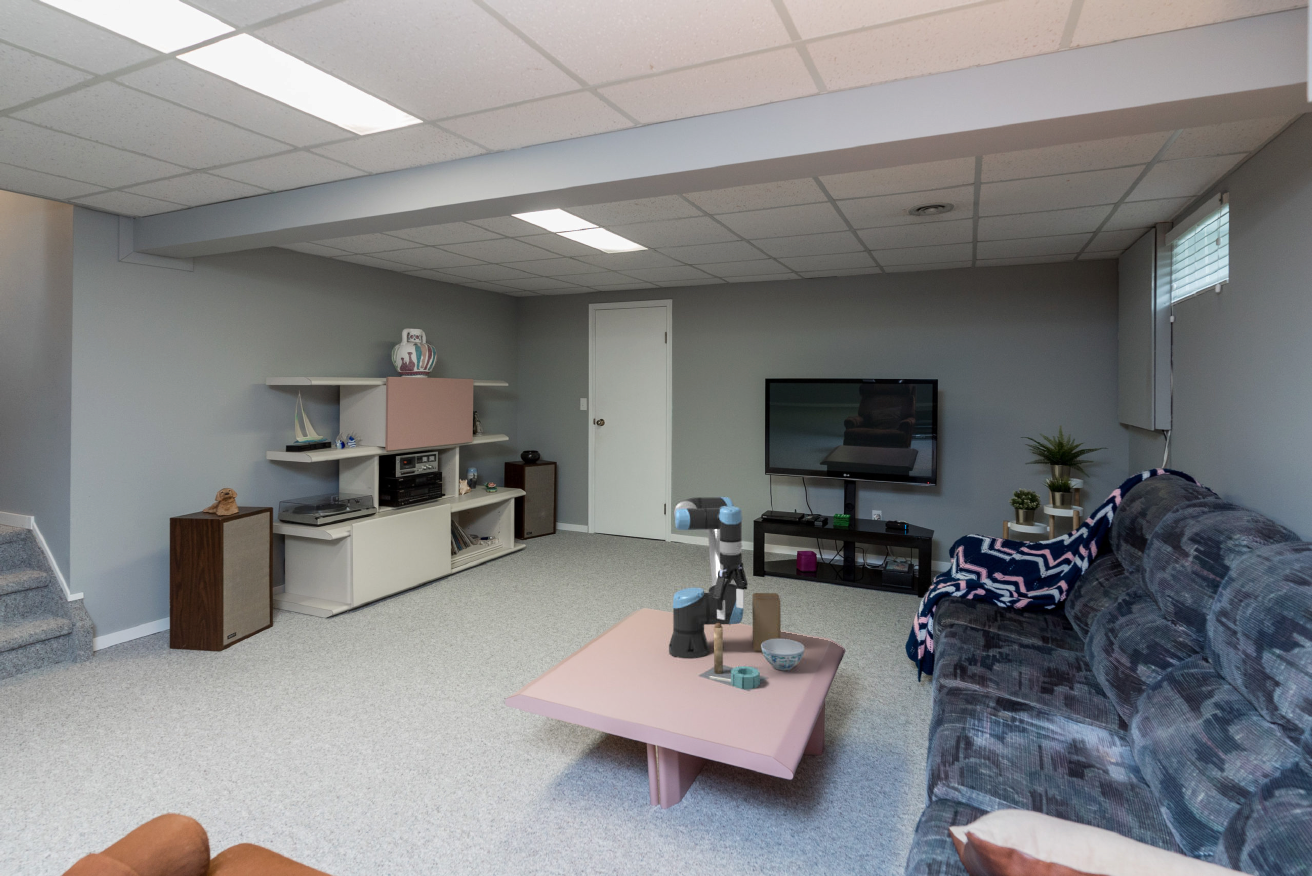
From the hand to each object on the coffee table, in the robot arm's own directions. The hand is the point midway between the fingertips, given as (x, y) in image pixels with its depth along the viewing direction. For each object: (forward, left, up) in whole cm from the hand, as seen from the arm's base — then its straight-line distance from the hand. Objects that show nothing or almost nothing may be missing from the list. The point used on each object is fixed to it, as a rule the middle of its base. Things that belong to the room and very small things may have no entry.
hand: (730, 613), depth 236 cm
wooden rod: (-3, -3, -21) cm, 21 cm away
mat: (+3, -3, -21) cm, 21 cm away
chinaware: (+12, +15, -21) cm, 28 cm away
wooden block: (-2, +28, -21) cm, 35 cm away
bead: (+9, -5, -21) cm, 23 cm away
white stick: (+1, -8, -21) cm, 22 cm away
